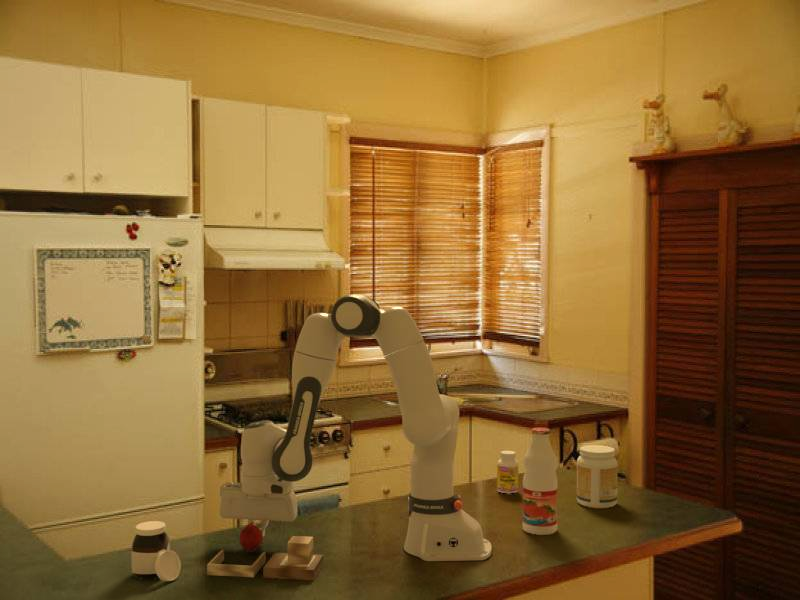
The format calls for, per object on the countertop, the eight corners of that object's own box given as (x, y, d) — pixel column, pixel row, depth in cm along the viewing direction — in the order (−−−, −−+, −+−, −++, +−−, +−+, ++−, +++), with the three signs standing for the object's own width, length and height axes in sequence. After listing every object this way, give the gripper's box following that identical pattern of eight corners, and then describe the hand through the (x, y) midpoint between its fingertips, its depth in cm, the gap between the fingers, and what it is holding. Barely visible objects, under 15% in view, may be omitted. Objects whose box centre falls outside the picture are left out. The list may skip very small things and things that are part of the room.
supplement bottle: (496, 494, 268) (496, 454, 267) (497, 488, 274) (497, 449, 273) (517, 495, 266) (518, 455, 266) (518, 489, 273) (518, 450, 272)
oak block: (313, 557, 203) (313, 536, 203) (308, 564, 198) (308, 543, 198) (292, 556, 204) (292, 535, 204) (287, 563, 199) (287, 542, 199)
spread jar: (142, 566, 205) (141, 518, 204) (188, 566, 205) (188, 519, 204) (124, 585, 193) (123, 534, 192) (173, 586, 193) (173, 535, 192)
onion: (257, 557, 211) (257, 525, 210) (235, 555, 212) (235, 524, 212) (265, 549, 217) (265, 518, 216) (244, 547, 218) (244, 517, 217)
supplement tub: (616, 499, 262) (617, 445, 261) (617, 510, 250) (618, 454, 250) (576, 496, 265) (577, 443, 264) (575, 507, 253) (576, 452, 252)
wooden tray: (323, 565, 206) (323, 554, 206) (313, 580, 196) (313, 569, 196) (221, 559, 209) (221, 549, 209) (207, 574, 199) (207, 563, 199)
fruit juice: (561, 527, 235) (562, 427, 233) (551, 537, 226) (552, 433, 225) (528, 522, 239) (529, 424, 237) (517, 532, 230) (518, 430, 229)
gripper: (215, 485, 218) (216, 537, 219) (292, 488, 216) (293, 541, 216) (224, 478, 225) (224, 530, 225) (299, 481, 222) (299, 533, 222)
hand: (258, 535), depth 221 cm, fingers closed
